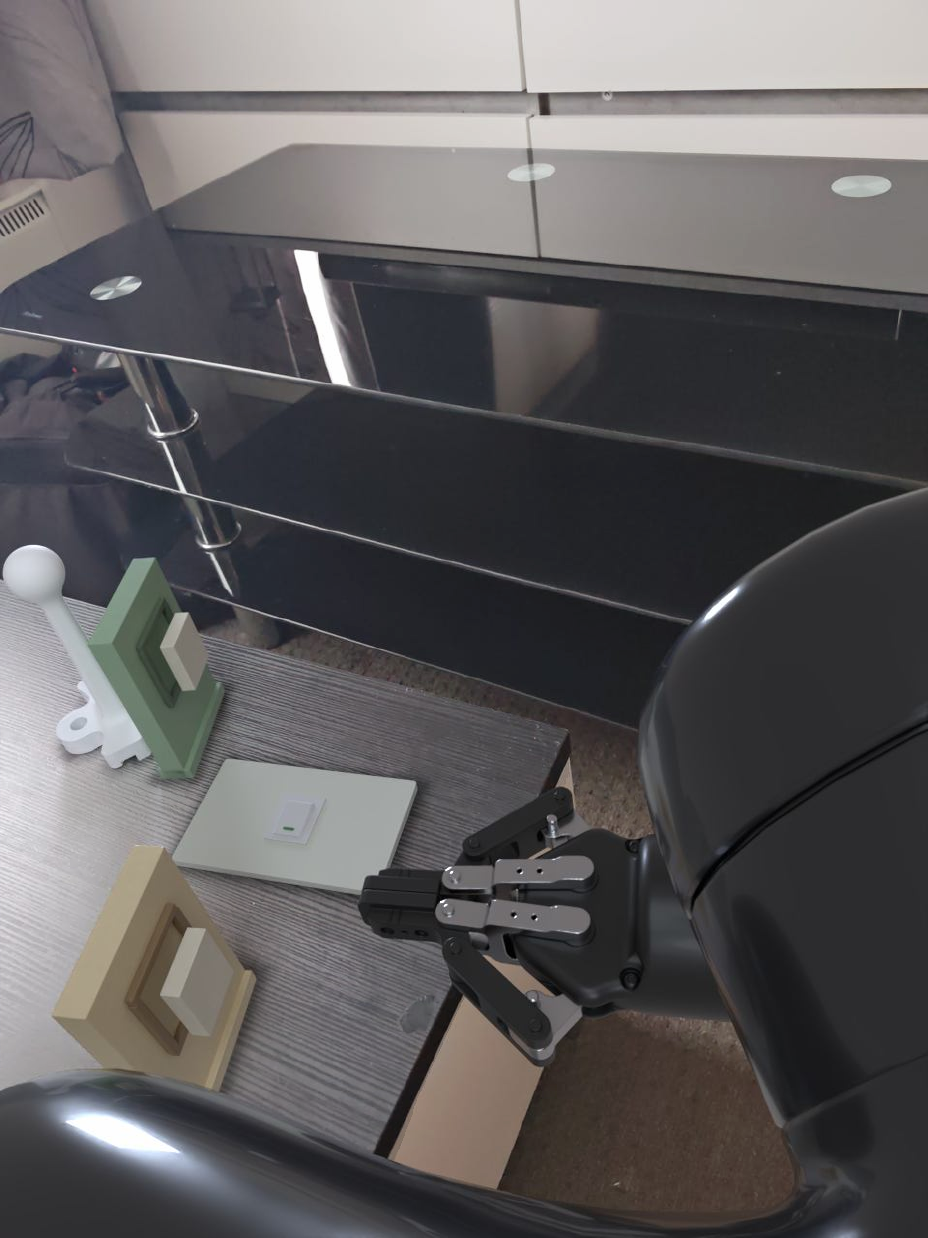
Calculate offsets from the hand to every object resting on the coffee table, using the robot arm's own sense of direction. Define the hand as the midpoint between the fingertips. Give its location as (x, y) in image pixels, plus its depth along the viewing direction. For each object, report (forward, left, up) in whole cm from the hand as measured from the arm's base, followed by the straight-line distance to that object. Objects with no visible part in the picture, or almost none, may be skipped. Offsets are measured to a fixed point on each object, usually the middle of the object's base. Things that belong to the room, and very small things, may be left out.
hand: (364, 901), depth 43 cm
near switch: (-5, +11, -13) cm, 18 cm away
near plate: (-6, +13, -20) cm, 25 cm away
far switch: (+14, +33, -13) cm, 38 cm away
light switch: (+10, +21, -20) cm, 30 cm away
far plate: (+13, +35, -20) cm, 42 cm away
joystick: (+9, +44, -21) cm, 49 cm away
